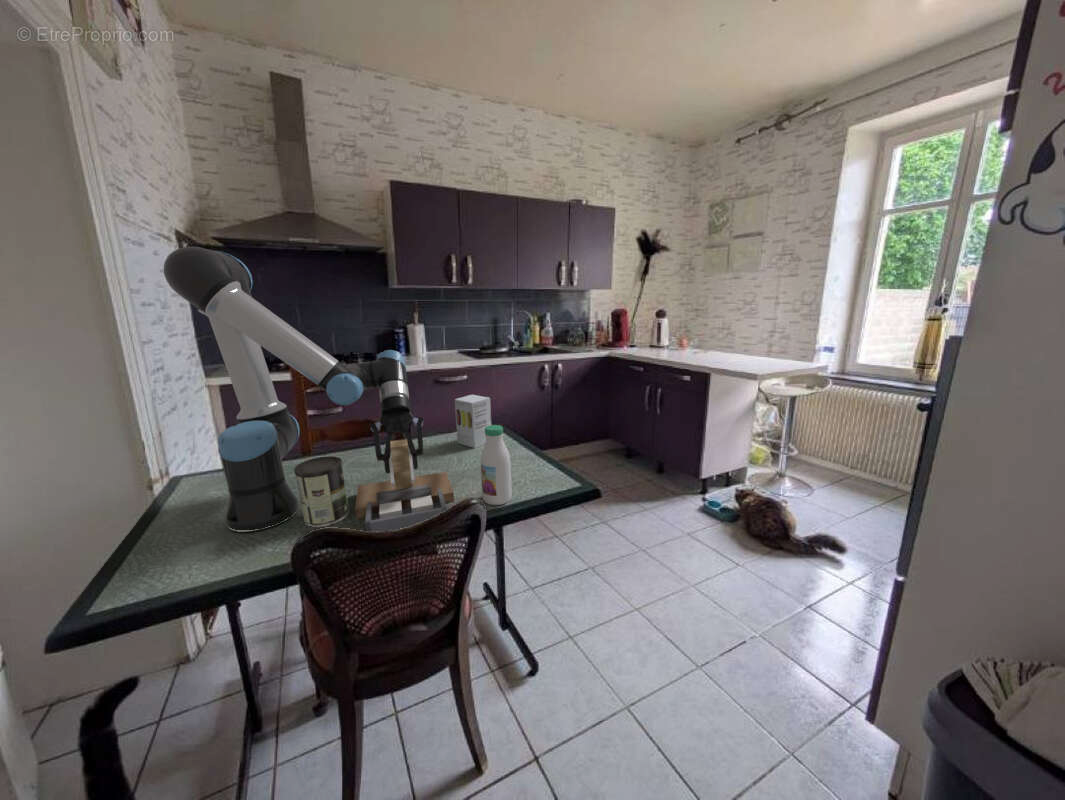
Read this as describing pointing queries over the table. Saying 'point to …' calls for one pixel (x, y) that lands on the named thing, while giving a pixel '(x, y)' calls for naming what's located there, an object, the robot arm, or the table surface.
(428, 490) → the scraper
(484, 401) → the supplement box
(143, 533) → the table surface
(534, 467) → the table surface
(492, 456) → the milk bottle
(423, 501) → the tile right
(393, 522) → the tray
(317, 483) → the coffee can
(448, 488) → the flat wooden board
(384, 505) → the tile left
